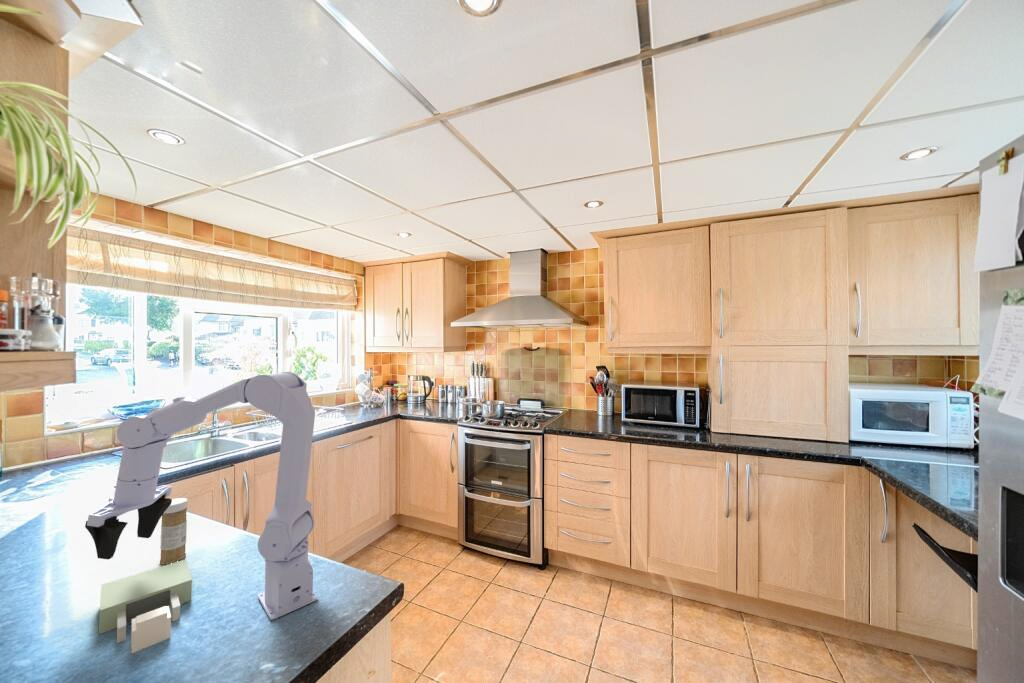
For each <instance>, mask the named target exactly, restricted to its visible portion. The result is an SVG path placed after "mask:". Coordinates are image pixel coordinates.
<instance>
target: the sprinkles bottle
mask: <svg viewBox="0 0 1024 683" xmlns="http://www.w3.org/2000/svg"><path fill="white" fill-rule="evenodd" d="M171 499H172V503H171V505H170V506H169V507H168V508H167V509H166V511H165V512H164V513H163V515H162V516H161V526H160V528H161V530H160V532H161V533H160V559H159V563H160V564H161V565H168V564H171V563H175V562H177V561H179V560H180V561H182V560H184V559H185V558H186V555H187V553H186V544H187V527H188V526H187V524H188V523H187V522H188V520H187V509H188V503H189V501H188V500H189V499H188V498H185V497H179V498H178V497H177V498H171ZM181 559H182V560H181Z"/></svg>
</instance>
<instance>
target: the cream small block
mask: <svg viewBox="0 0 1024 683" xmlns="http://www.w3.org/2000/svg"><path fill="white" fill-rule="evenodd" d="M130 627H131V631H130V646H131V647H130V649H131V654H133V653H136V652H139V651H141V650H143V648H144V649H146V648H148V647H151V646H154V645H155V644H158V643H161V642H164V641H165V640H168V639H171V634H172V633H171V631H172V617H171V612H170V609H169V606H167V607H166V606H164V607H161V608H158V609H155V610H153V611H150V612H147V613H144V614H141V615H139V616H136V618H134V619H132V622H131V625H130Z"/></svg>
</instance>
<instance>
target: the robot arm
mask: <svg viewBox="0 0 1024 683" xmlns="http://www.w3.org/2000/svg"><path fill="white" fill-rule="evenodd" d="M307 385H308V384H307V382H306V381H305V380H303V379H302V377H300V376H298V374H296V373H294V372H291V371H282V372H279V373H271V374H257V375H255V376H253V377H249V378H244V379H241V380H239V381H236V382H233V383H232V384H229V385H227V386H225V387H223V388H221V389H218V390H217V391H214V392H211V393H210V394H207V395H206V396H203V397H200V398H195V397H193V396H179V397H175V398H173V399H172V403H170V404H168V405H167V404H166V405H165V406H162V407H159V406H158V407H153V408H151V409H149V411H148V413H147V414H142V415H133V416H129V417H128V418H126V419H124V420H123V421H122V422H121V423H120V424H119V425H118V427H117V430H116V437H117V440H118V441H119V443H120V444H121V445H122V446H123V447H122V453H121V456H120V458H121V459H120V463H119V469H118V473H117V479H116V486H115V491H114V495H113V496H111V497H109V498H108V503H107V504H105V505H104V506H102V507H100V508H99V509H98V510H96V511H93V512H92V513H89V514H88V518H87V520H86V521H85V524H84V525H85V526H84V528H85V529H86V530H87V532H89V533H90V536H91V537H92V539H93V543H94V546H95V550H96V556H97V559H102V560H110V559H112V558H113V557H114V555H115V553H116V550H117V547H118V543H119V540H120V536H121V535H122V533H123V531H124V529H125V528H126V526H127V525H128V522H126V521H119V520H120V519H119V518H118V517H120V516H122V515H123V514H126V513H128V512H131V511H135V510H137V514H138V516H137V517H138V518H137V520H138V522H137V531H136V536H137V538H142V539H149V538H151V537H152V535H153V533H154V531H155V530H156V527H157V525H158V523H159V521H160V519H162V515H163V513H164V512H165V511H166V509H167V508H168V507H169V506H170V505H171V503H172V499H173V498H167V497H169V496H171V493H172V488H173V487H172V485H166V484H162V485H159V486H158V482H159V481H158V480H159V475H160V470H161V466H162V465H161V464H162V459H163V453H164V449H165V448H166V447H167V443H168V440H170V439H171V438H172V437H173V436H174V435H176V434H180V433H181V432H184V431H186V430H188V429H191V428H193V427H196V426H198V425H200V424H202V423H203V422H205V420H206V419H207V415H208V414H210V413H212V412H213V413H214V412H216V411H218V410H222V409H223V408H226V407H229V406H231V405H234V404H237V403H239V402H240V403H242V404H247V403H249V404H250V405H251V406H252V407H254V408H256V409H258V410H260V411H263V412H265V413H266V414H267V413H268V414H270V415H272V416H274V418H275V419H277V420H278V421H279V422H280V423H282V431H281V432H282V433H281V442H280V449H279V451H280V452H279V459H278V460H279V461H278V467H277V478H276V487H275V488H276V489H275V495H274V496H275V497H274V505H273V507H272V509H271V511H270V513H269V514H268V516H267V518H266V520H265V523H264V524H265V526H264V529H263V530H262V533H261V535H260V536H259V538H258V541H257V549H258V552H259V554H260V555H261V556H262V558H263V559H264V562H265V564H264V566H265V567H264V570H265V573H264V591H263V592H260V593H258V594H257V600H259V602H260V604H261V606H262V608H263V609H264V611H265V613H266V614H267V617H268V618H269V620H270V621H271V620H272V621H274V620H275V619H278V618H280V617H282V616H285V615H287V614H288V613H291V612H293V611H296V610H298V609H300V608H302V607H303V608H304V607H305V606H306V605H308V604H311V603H314V602H315V601H317V600H318V598H319V596H318V595H317V594H316V592H314V590H313V588H314V585H313V584H314V569H313V566H312V564H311V563H310V562H309V535H310V534H311V532H313V530H314V527H315V519H314V515H313V512H312V505H313V504H312V502H310V501H309V500H307V493H308V492H307V491H308V484H309V474H310V464H311V455H312V446H313V438H314V437H313V436H314V428H315V419H316V410H315V408H314V406H313V404H312V401H311V398H310V396H309V394H308V391H307Z"/></svg>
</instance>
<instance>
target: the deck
mask: <svg viewBox="0 0 1024 683" xmlns="http://www.w3.org/2000/svg"><path fill="white" fill-rule="evenodd" d="M100 586H101V587H100V603H99V621H98V622H99V626H98V635H101V634H103V633H106V631H107V632H108V631H112V630H114V629H116V643H117V644H118V643H121V642H125V641H126V640H127V625H128V624H132V619H134V618H136V616H139V615H141V614H144V613H147V612H150V611H153V610H155V609H158V608H161V607H164V606H166V607H167V606H169V609H170V614H171V623H172V622H173V623H174V622H176V621H178V620H181V605H182V604H185V603H188V602H191V601H192V597H193V596H192V594H193V593H192V589H193V588H192V587H193V579H192V574H191V573H190V569H189V566H188V564H187V560H186V559H182V560H180V561H178V562H175V563H172V564H164V565H163V566H159V567H156V568H152V569H149V570H146V571H141V572H138V573H135V574H133V575H129V576H126V577H122V578H120V579H119V578H118V579H115V580H113V581H110V582H106V583H103V584H101V585H100Z"/></svg>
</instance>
